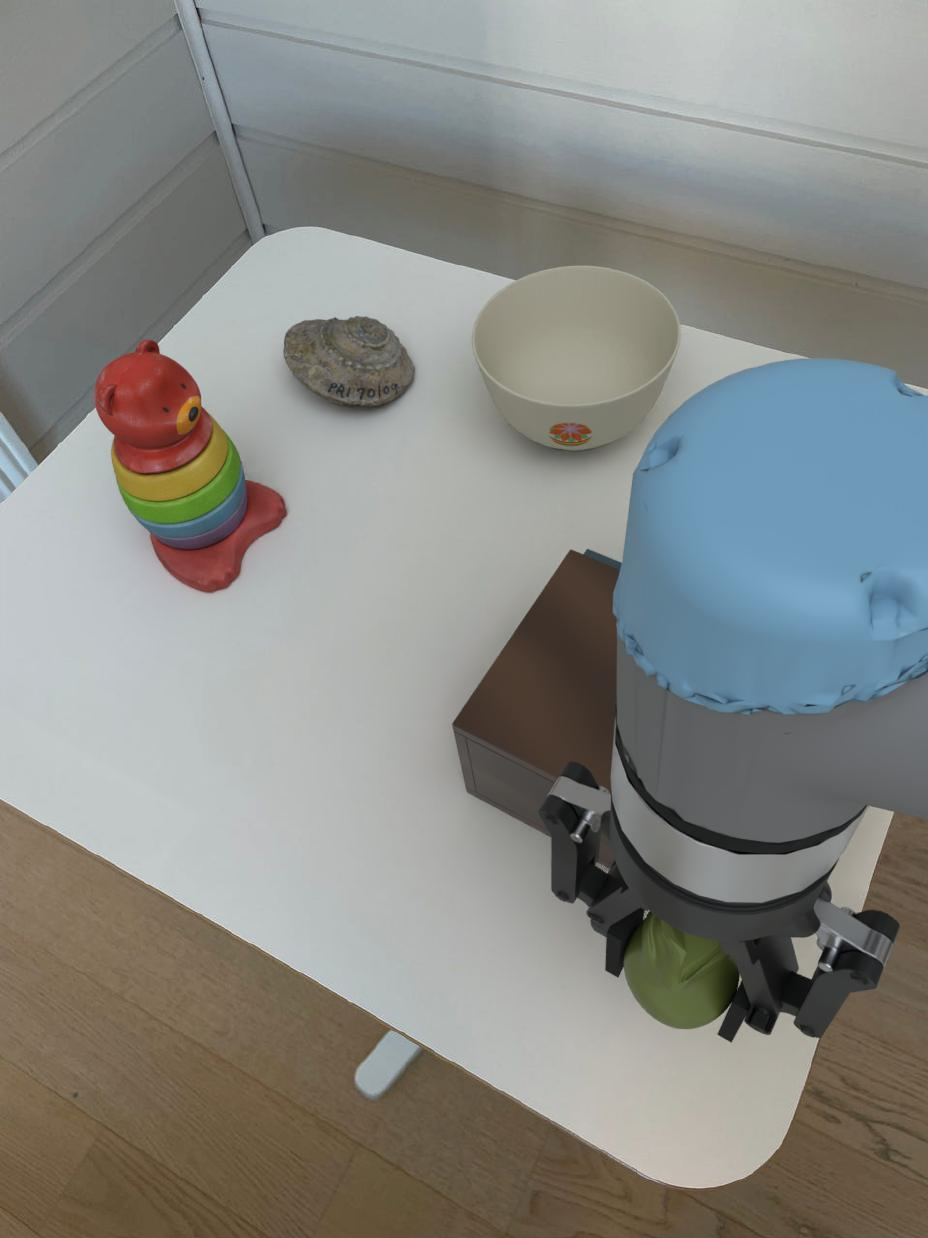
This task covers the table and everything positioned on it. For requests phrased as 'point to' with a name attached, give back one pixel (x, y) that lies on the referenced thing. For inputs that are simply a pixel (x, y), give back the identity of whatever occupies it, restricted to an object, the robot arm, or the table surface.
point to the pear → (679, 975)
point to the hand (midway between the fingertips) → (678, 981)
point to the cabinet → (547, 697)
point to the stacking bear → (181, 470)
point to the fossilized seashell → (348, 360)
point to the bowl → (576, 353)
